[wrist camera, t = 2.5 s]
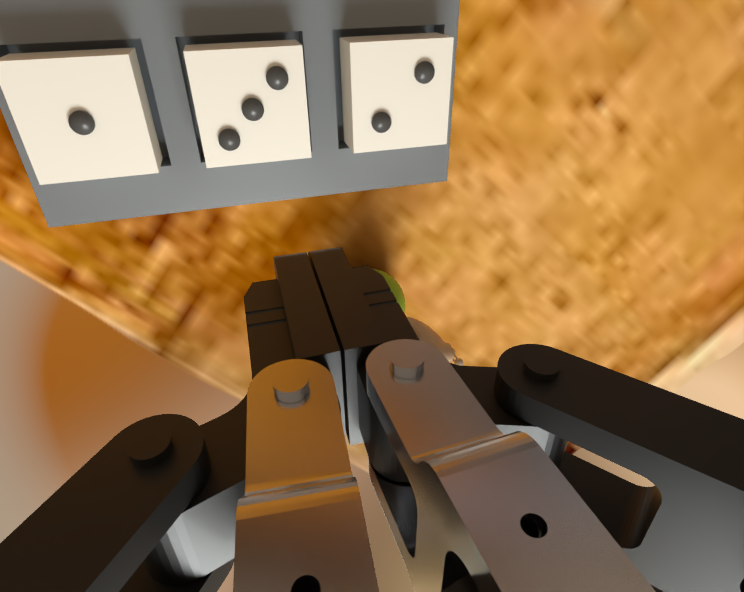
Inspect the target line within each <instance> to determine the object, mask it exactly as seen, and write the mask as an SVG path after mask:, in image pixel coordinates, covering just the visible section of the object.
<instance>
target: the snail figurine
mask: <svg viewBox="0 0 744 592" xmlns="http://www.w3.org/2000/svg"><path fill="white" fill-rule="evenodd" d="M374 270H375V271H377V272H378V273H380V274H381V275H383V276H384V278H385V280H386V282H387V284H388V285H389V287H390V289H391V292H393V294H394V296H395V298H396V299H397V303H399V305H400V307H401V308H402V310H403V312H404V311H405V298H404V294H403V291H402V289H401V287H400V285H399V284H398V283H397V281H396V280H395V279H394V278H393V277H392V276H390V275H389V274H387V273H385V272H383V271H381V270H378V269H374ZM407 319H408V321H409V322H410V324H411V326H412V328H413V329H414V331H415V333H416V335H417V337H418V338H419V340H420V341H422V342H426V343H428V344H430V345H432V346H434V347H436V348H437V349H438V350H440V351H441V352H442V353H443V355H444V356H445V357H446V359H447V360H448V361H449V362H451V361H452V360H453V361H454V363H455V364H456V365H461V366H463V361H462V359H460V358H457V357H456V355H455V350H454V349H453V348H452V347H451V345H450V344H449V343H446V342H444V341H443V340H442V338H441V337H440V336H439V335H438V334H437V333H436V332H435V331H433V330H432V329H431V328H430V327H428V326H427V325H426V324H424V323H422V322H421V321H418V320H416V319H414V318H410V317H407ZM454 357H456V360H454Z"/></svg>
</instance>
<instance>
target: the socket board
mask: <svg viewBox="0 0 744 592" xmlns="http://www.w3.org/2000/svg"><path fill="white" fill-rule="evenodd" d="M459 2H460V0H0V57H3V56H5V55H7V54H12V53H32V52H52V51H72V50H92V49H112V48H132V47H135V50H136V54H137V58H138V62H139V66H140V70H141V74H142V78H143V82H144V86H145V90H146V94H147V98H148V102H149V106H150V110H151V114H152V118H153V122H154V126H155V130H156V134H157V138H158V142H159V146H160V150H161V154H162V163H161V167H160V171H159V173H154V174H144V175H134V176H124V177H115V178H105V179H95V180H85V181H75V182H65V183H55V184H45V185H40V184H39V182H38V179H37V177H36V174H35V172H34V169H33V167H32V164H31V162H30V159H29V156H28V154H27V151H26V149H25V146H24V144H23V141H22V139H21V136H20V134H19V131H18V129H17V126H16V124H15V121H14V119H13V116H12V114H11V111H10V109H9V106H8V104H7V101H6V99H5V96H4V94H3V91H2V89H1V86H0V108H1V111H2V113H3V116H4V118H5V121H6V123H7V125H8V128H9V130H10V133H11V135H12V138H13V140H14V143H15V145H16V148H17V150H18V152H19V155H20V157H21V160H22V162H23V165H24V167H25V170H26V172H27V175H28V177H29V179H30V182H31V184H32V187H33V189H34V192H35V194H36V197H37V199H38V202H39V204H40V206H41V209H42V211H43V214H44V216H45V219H46V221H47V224H48V226H49V227H57V226H65V225H74V224H83V223H91V222H100V221H108V220H117V219H125V218H134V217H142V216H151V215H159V214H168V213H176V212H185V211H194V210H202V209H211V208H219V207H228V206H236V205H245V204H253V203H262V202H270V201H279V200H288V199H296V198H305V197H313V196H322V195H330V194H339V193H347V192H356V191H364V190H373V189H382V188H390V187H399V186H407V185H416V184H424V183H433V182H441V181H447V175H448V160H449V146H450V132H451V117H452V103H453V88H454V74H455V60H456V45H457V31H458V17H459ZM433 32H437V33H440V34H444V35H447V36H451V37H454V41H453V56H452V71H451V86H450V101H449V116H448V131H447V144H443V145H433V146H423V147H413V148H403V149H393V150H383V151H373V152H363V153H353V152H352V151H351V149H350V148H349V147H348V145H347V144H346V143H345V142H344V128H343V106H342V84H341V63H340V41H339V37H352V36H372V35H393V34H413V33H433ZM292 39H295V40H296V41H298V42H299V43H300V44H301V45H302V49H303V61H304V73H305V85H306V97H307V109H308V121H309V133H310V145H311V157H312V158H304V159H294V160H284V161H274V162H264V163H254V164H244V165H234V166H224V167H214V168H207V167H206V162H205V157H204V152H203V147H202V142H201V137H200V132H199V127H198V122H197V117H196V112H195V108H194V103H193V98H192V93H191V88H190V83H189V78H188V73H187V68H186V63H185V58H184V53H183V50H184V47H185V45H192V44H212V43H232V42H252V41H272V40H292Z"/></svg>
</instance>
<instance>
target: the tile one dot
mask: <svg viewBox="0 0 744 592" xmlns="http://www.w3.org/2000/svg"><path fill="white" fill-rule="evenodd" d="M0 86H1V89H2V91H3V94H4V96H5V99H6V101H7V104H8V106H9V109H10V111H11V114H12V116H13V119H14V121H15V124H16V126H17V129H18V131H19V134H20V136H21V139H22V141H23V144H24V146H25V149H26V151H27V154H28V156H29V159H30V162H31V164H32V167H33V169H34V172H35V174H36V177H37V179H38V182H39V184H40V185H45V184H55V183H65V182H75V181H85V180H95V179H105V178H115V177H124V176H134V175H144V174H154V173H159V171H160V167H161V163H162V154H161V150H160V146H159V142H158V138H157V134H156V130H155V126H154V122H153V118H152V114H151V110H150V106H149V102H148V98H147V94H146V90H145V86H144V82H143V78H142V74H141V70H140V66H139V62H138V58H137V54H136V50H135V47H132V48H112V49H92V50H72V51H52V52H32V53H12V54H7V55H5V56H3V57H0Z"/></svg>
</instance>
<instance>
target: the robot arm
mask: <svg viewBox="0 0 744 592" xmlns="http://www.w3.org/2000/svg"><path fill="white" fill-rule="evenodd" d="M273 260H274V268H275V275H276V279H274V280H267V281H260V282H254V283H252V284H251V286H250V288H249V289H248V291H247V293H246V294H245V296H244V304H245V313H246V322H247V332H248V341H249V350H250V360H251V369H252V381H251V383H250V385H249V387H248V392H247V395H246V396H245V398H244V399H243V400H242V401H241V402H240V403H239V404H238V405H237V406H235V407H234V408H233V409H232V410H230V411H229V412H227V413H225V414H223V415H222V416H220V417H218V418H215V419H213V420H211V421H209V422H207V423H205V424H203V425H200V426H199V425H198V424H197V423H196V422H195V421H193V420H192V419H190V418H188V417H185V416H182V415H177V414H162V415H156V416H152V417H149V418H145V419H143V420H140V421H137V422H136V423H134V424H132V425H130V426H128V427H127V428H125V429H124V430H122V431H121V432H120V433H118V434H117V435H116V436H115V437H114V438H113V439H112V440H111V441H109V442H108V443H107V444H106V445H105V446H104V447H103V448H102V449H101V450H100V451H99V452H98V453H97V454H96V455H94V456H93V457H92V458H91V459H90V460H89V461H88V462H87V463H86V464H85V465H84V466H83V467H82V468H81V469H80V470H78V471H77V472H76V473H75V474H74V475H73V476H72V477H71V478H70V479H69V480H68V481H67V482H66V483H64V484H63V485H62V486H61V487H60V488H59V489H58V490H57V491H56V492H55V493H54V494H53V495H52V496H51V497H50V498H49V499H47V500H46V501H45V502H44V503H43V504H42V505H41V506H40V507H39V508H38V509H37V510H36V511H35V512H34V513H32V514H31V515H30V516H29V517H28V518H27V519H26V520H25V521H24V522H23V523H22V524H21V525H19V527H17V528H16V529H15V530H14V531H13V532H12V533H11V534H10V535H9V536H8V537H7V538H6V539H5V540H4V541H2V542H1V543H0V592H217V591H218V589H219V587H220V586H221V585H222V583H223V581H224V580H225V578H226V577H227V575H228V573H229V571H230V570H231V568H232V565H233V563H234V583H233V585H234V586H233V592H379V588H378V583H377V578H376V573H375V568H374V563H373V558H372V553H371V548H370V543H369V538H368V533H367V527H366V522H365V518H364V512H363V507H362V502H361V497H360V492H359V488H358V484H357V480H356V478H355V477H353V476H352V471H351V467H350V461H349V456H348V450H347V444H346V433H347V437H348V440H349V444H350V445H354V444H358V443H363V442H364V444H365V447H366V450H367V453H368V459H369V476H370V480H371V483H372V485H373V487H374V490H375V492H376V495H377V497H378V500H379V502H380V504H381V507H382V509H383V511H384V514H385V517H386V519H387V521H388V524H389V526H390V529H391V531H392V533H393V536H394V538H395V541H396V543H397V546H398V548H399V550H400V553H401V555H402V558H403V560H404V563H405V565H406V568H407V570H408V574H409V577H410V581H411V585H412V591H413V592H744V420H743V419H741V418H738V417H735V416H733V415H730V414H727V413H724V412H722V411H720V410H717V409H714V408H712V407H709V406H706V405H703V404H701V403H698V402H696V401H693V400H690V399H688V398H685V397H682V396H680V395H677V394H674V393H672V392H669V391H667V390H664V389H661V388H659V387H656V386H653V385H651V384H648V383H645V382H643V381H640V380H637V379H635V378H632V377H629V376H627V375H624V374H621V373H619V372H616V371H614V370H611V369H608V368H606V367H603V366H600V365H598V364H595V363H592V362H590V361H587V360H584V359H582V358H579V357H576V356H574V355H571V354H568V353H566V352H563V351H561V350H558V349H555V348H552V347H549V346H544V345H538V344H523V345H518V346H514V347H512V348H509V349H508V350H506V351H505V352H504V353H503V354H502V355H501V356H500V358H499V361H498V365H497V367H476V366H461V365H456V364H452V363H449V361H448V360H447V359H446V357H445V356H444V355H443V353H442V352H441V351H440V350H438V349H437V348H436V347H434V346H432V345H430V344H428V343H426V342H422V341H420V340H419V338H418V337H417V335H416V333H415V331H414V329H413V328H412V326H411V324H410V322H409V321H408V319H407V317H406V315H405V314H404V312H403V310H402V308H401V307H400V305H399V303H397V299H396V298H395V296H394V294H393V292H391V289H390V287H389V285H388V284H387V282H386V280H385V278H384V276H383V275H381V274H380V273H378V272H377V271H375V270H374V269H372V268H371V267H369V266H368V265H366V266H360V267H353V268H351V266H350V264H349V262H348V260H347V258H346V256H345V254H344V252H343V250H342V248H341V247H339V248H332V249H325V250H318V251H311V252H308V255H307V253H306V252H305V253H297V254H290V255H283V256H276V257H273ZM568 441H569V442H571V443H573V444H575V445H577V446H580V447H582V448H584V449H586V450H588V451H590V452H592V453H595V454H597V455H599V456H601V457H603V458H605V459H607V460H610V461H612V462H614V463H616V464H618V465H620V466H622V467H625V468H627V469H629V470H631V471H633V472H635V473H638V474H640V475H642V476H644V477H645V478H647V479H648V480H650V481H651V482H653V483H654V485H655V486H653V487H642V486H638V485H635V484H633V483H631V482H628V481H626V480H624V479H622V478H620V477H618V476H616V475H614V474H612V473H609V472H607V471H605V470H603V469H601V468H599V467H597V466H595V465H593V464H591V463H589V462H586V461H584V460H582V459H580V458H578V457H576V456H574V455H572V454H570V453H568V452H566V451H565V449H566V446H567V443H568Z"/></svg>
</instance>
